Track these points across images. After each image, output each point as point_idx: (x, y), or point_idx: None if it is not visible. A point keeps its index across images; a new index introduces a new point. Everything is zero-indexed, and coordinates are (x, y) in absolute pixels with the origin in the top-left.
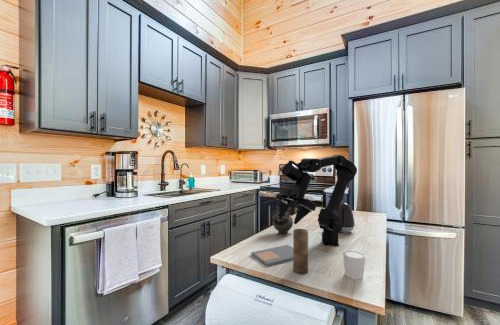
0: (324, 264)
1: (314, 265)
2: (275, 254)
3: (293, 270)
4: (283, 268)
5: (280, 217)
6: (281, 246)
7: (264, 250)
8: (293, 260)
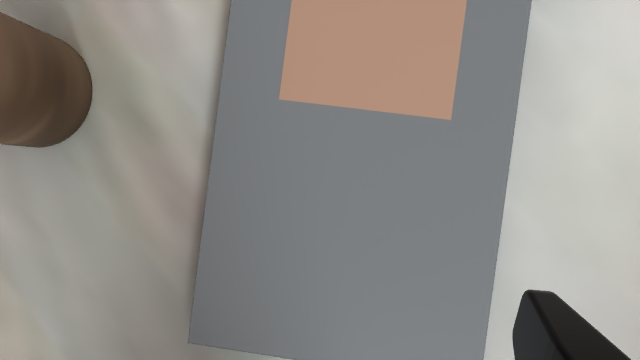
0: (4, 336)
1: (38, 255)
2: (350, 102)
3: (65, 43)
4: (145, 10)
5: (528, 333)
6: (476, 299)
7: (499, 80)
8: (15, 21)
